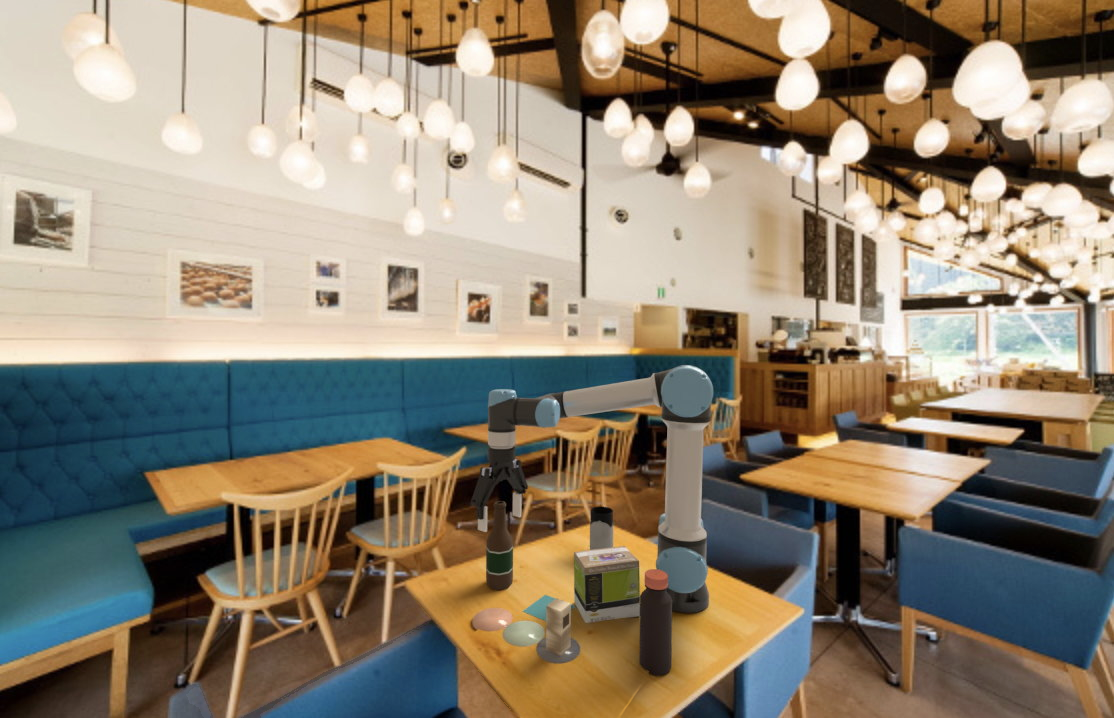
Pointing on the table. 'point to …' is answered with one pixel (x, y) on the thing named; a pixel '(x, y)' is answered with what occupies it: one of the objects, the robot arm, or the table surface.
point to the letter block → (558, 626)
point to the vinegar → (656, 624)
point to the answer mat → (540, 607)
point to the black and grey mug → (601, 528)
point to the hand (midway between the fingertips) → (500, 523)
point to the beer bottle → (499, 551)
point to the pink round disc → (492, 619)
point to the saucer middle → (523, 633)
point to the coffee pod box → (606, 584)
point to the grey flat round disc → (554, 658)
